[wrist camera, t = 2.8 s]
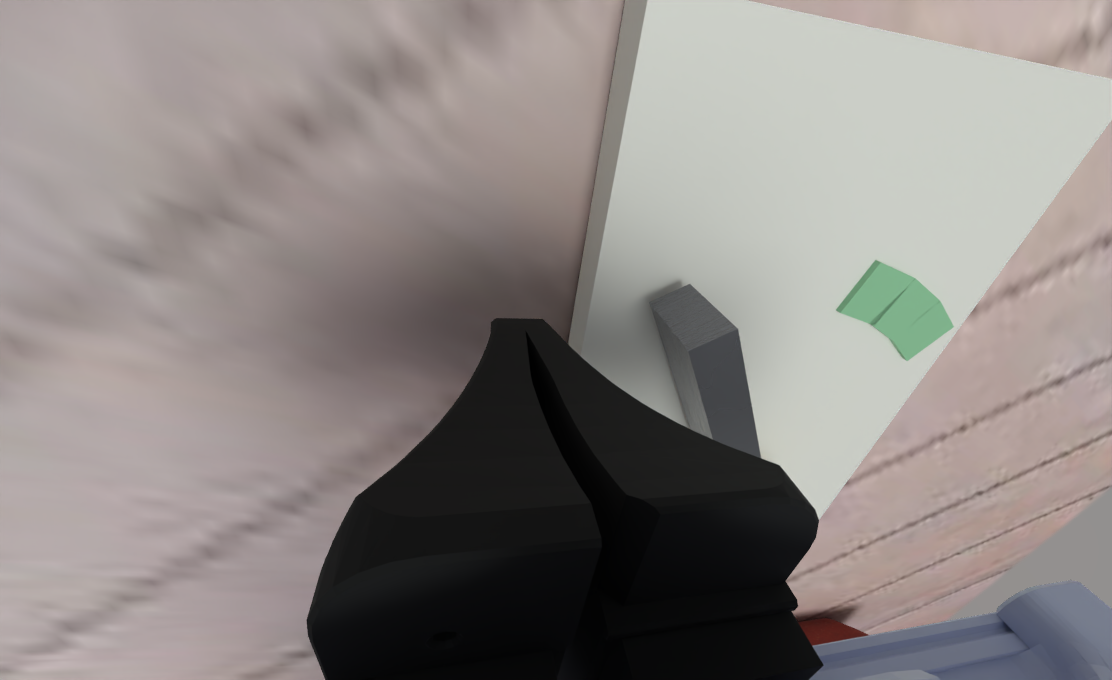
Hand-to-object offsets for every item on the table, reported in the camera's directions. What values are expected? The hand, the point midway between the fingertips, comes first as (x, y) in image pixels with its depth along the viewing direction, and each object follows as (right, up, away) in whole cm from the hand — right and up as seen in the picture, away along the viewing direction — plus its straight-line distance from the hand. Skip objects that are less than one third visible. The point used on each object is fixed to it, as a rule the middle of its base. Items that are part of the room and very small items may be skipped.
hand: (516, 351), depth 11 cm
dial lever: (+6, -3, +4) cm, 8 cm away
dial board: (+8, 0, +5) cm, 10 cm away
